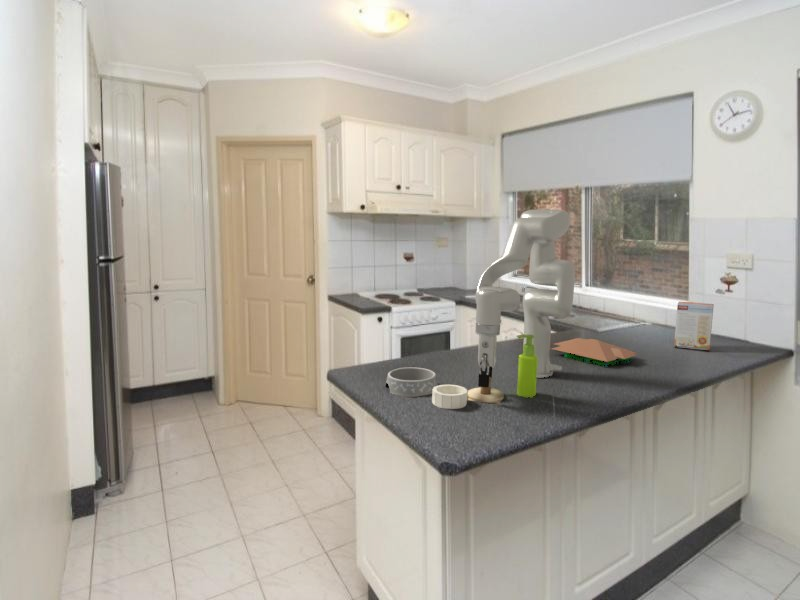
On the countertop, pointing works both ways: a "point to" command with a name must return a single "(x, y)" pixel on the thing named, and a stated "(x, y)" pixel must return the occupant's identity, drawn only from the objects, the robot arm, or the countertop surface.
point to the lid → (485, 394)
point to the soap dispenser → (527, 369)
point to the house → (594, 350)
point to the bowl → (449, 396)
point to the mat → (473, 400)
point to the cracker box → (693, 324)
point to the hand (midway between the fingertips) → (485, 382)
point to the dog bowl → (411, 381)
